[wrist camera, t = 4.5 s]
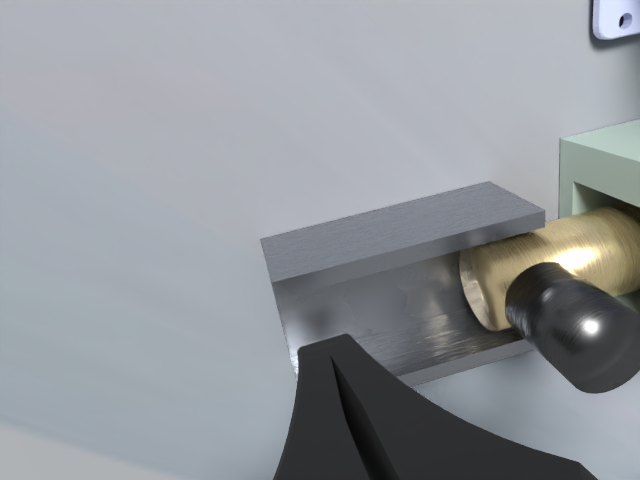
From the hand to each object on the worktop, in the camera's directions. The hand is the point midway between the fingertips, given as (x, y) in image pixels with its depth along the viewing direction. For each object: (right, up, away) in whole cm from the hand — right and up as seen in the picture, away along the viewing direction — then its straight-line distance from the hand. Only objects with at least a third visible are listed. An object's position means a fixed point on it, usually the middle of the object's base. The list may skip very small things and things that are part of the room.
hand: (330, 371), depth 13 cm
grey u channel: (+2, +2, +7) cm, 8 cm away
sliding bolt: (+9, +3, +7) cm, 12 cm away
